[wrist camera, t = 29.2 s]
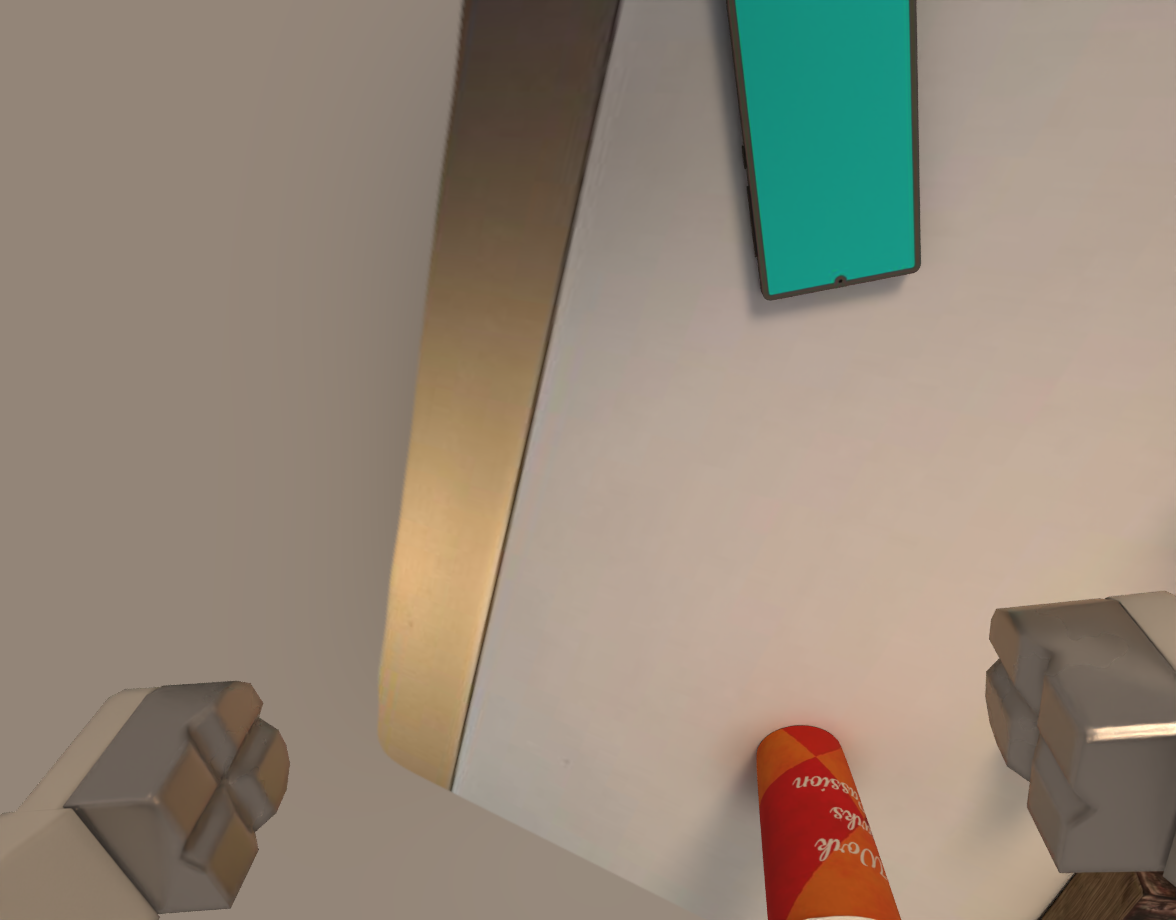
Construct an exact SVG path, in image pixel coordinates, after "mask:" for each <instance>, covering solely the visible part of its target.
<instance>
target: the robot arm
mask: <svg viewBox="0 0 1176 920" xmlns="http://www.w3.org/2000/svg"><path fill="white" fill-rule="evenodd" d="M989 640H990V642H991V643H992V645H993V647H994V649H995V651H996V653H997V654H998V656H999V659H998V660H997V661H996V662H995V663H994V664H993V665H992V666H991V667H990V668H989V669H988V670H987V671H986V692H985V697H986V703H987V709H988V715H989V721H990V725H991V728H992V731H993V734H994V737H995V740H996V743H997V745H998V747H999V750H1000V752H1001V754H1002V756H1003V758H1004V760H1005V762H1006V765H1007V766H1008V767H1009V768H1010V769H1012V770H1013V771H1015V772H1016V773H1017V774H1019V775H1020V776H1022V777H1023V778H1025V779H1026V780H1027V781H1029V782H1030V785H1029V793H1028V802H1027V808H1028V810H1029V812H1030V814H1031V816H1032V818H1033V820H1034V822H1035V824H1036V826H1037V829H1038V831H1039V833H1040V835H1041V837H1042V839H1043V841H1044V843H1045V845H1046V847H1047V849H1048V851H1049V853H1050V855H1051V857H1052V859H1053V861H1054V863H1055V865H1056V867H1057V869H1058V871H1059V873H1084V872H1145V871H1164V874H1163V877H1164V878H1166V879H1167V880H1168V881H1169V882H1170V883H1172V884H1173V885H1174V886H1175V887H1176V596H1175V595H1173V594H1171V593H1169V592H1166V591H1158V592H1149V593H1139V594H1130V595H1121V596H1112V597H1107V598H1105V599H1101V598H1098V599H1088V600H1078V601H1068V602H1058V603H1049V604H1039V605H1029V606H1019V607H1010V608H1000V609H996V611H995V613H994V615H993V617H992V619H991V625H990V635H989ZM262 706H263V702H262V700H261V699H260V697H259V696H258V694H257V692H256V691H255V689H254V688H253V686H252V685H251V683H246V682H240V681H227V682H212V683H197V684H182V685H168V686H161V687H153V688H137V689H124V690H122V691H121V692H119V693H117V694H115V695H113V696H111V697H109V698H108V699H107V700H106V701H105V703H104V704H103V705H102V706H101V708H100V709H99V710H98V711H97V713H96V714H95V715H94V716H93V717H92V719H91V720H90V721H89V722H88V724H87V725H86V726H85V727H84V728H83V730H82V731H81V732H80V733H79V735H78V736H77V737H76V738H75V739H74V741H73V742H72V743H71V744H70V746H69V747H68V748H67V749H66V751H65V752H64V753H63V754H62V755H61V757H60V758H59V759H58V760H57V762H56V763H55V764H54V765H53V767H52V768H51V769H50V770H49V771H48V773H47V774H46V775H45V776H44V778H43V779H42V780H41V781H40V782H39V784H38V785H37V786H36V787H35V789H34V790H33V791H32V792H31V793H30V795H29V796H28V797H27V798H26V800H25V801H24V802H23V803H22V805H21V806H20V807H19V808H18V810H17V811H16V812H8V813H2V814H1V815H0V920H159V918H160V917H159V915H158V914H164V913H177V912H191V911H202V910H217V909H230V908H231V907H232V905H233V902H234V900H235V898H236V896H237V894H238V892H239V890H240V888H241V886H242V884H243V882H244V879H245V877H246V875H247V873H248V871H249V869H250V867H251V865H252V863H253V861H254V859H255V857H256V854H257V852H258V850H259V849H258V844H257V839H256V834H255V831H257V830H258V829H259V828H260V827H261V826H262V825H263V824H265V823H266V822H267V821H268V820H269V819H270V818H271V817H272V816H273V815H275V814H276V812H277V810H278V808H279V806H280V803H281V801H282V799H283V796H284V794H285V792H286V790H287V783H288V775H289V767H290V761H289V756H288V751H287V746H286V743H285V742H284V740H283V738H282V736H281V734H280V732H279V730H278V729H276V728H274V727H273V726H271V725H270V724H268V723H267V722H265V721H264V720H262V719H261V718H259V715H260V712H261V709H262Z"/></svg>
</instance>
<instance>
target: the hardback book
mask: <svg viewBox="0 0 1176 920" xmlns="http://www.w3.org/2000/svg"><path fill="white" fill-rule="evenodd" d="M1163 874H1164V871H1145V872H1084V873H1076V874H1075V876H1074V877H1073V878H1072V880H1071V881H1070V882H1069V884H1068V885H1067V886H1066V887H1065V889H1064V890H1063V891H1062V893H1061V894H1060V895H1059V897H1058V898H1057V899H1056V901H1055V902H1054V903H1053V905H1052V906H1051V907H1050V908H1049V910H1048V911H1047V912H1046V914H1045V915H1044V916H1043V918H1042V919H1041V920H1176V887H1175V886H1174V885H1173V884H1172V883H1170V882H1169V881H1168V880H1167V879H1166V878H1164V877H1163Z"/></svg>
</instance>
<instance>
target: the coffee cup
mask: <svg viewBox="0 0 1176 920" xmlns="http://www.w3.org/2000/svg"><path fill="white" fill-rule="evenodd" d="M757 781H758V796H759V810H760V824H761V837H762V851H763V863H764V876H765V889H766V902H767V915H768V920H901V918H900V915H899V912H898V909H897V906H896V903H895V900H894V897H893V894H892V891H891V888H890V885H889V882H888V879H887V876H886V873H885V871H884V868H883V865H882V862H881V859H880V856H879V853H878V850H877V847H876V844H875V841H874V838H873V835H872V832H871V829H870V826H869V823H868V821H867V818H866V815H865V812H864V809H863V806H862V803H861V800H860V797H859V794H858V792H857V789H856V786H855V783H854V780H853V777H852V774H851V771H850V769H849V766H848V763H847V760H846V758H845V755H844V753H843V750H842V748H841V746H840V744H839V742H838V740H837V739H836V738H835V737H834V736H833V735H832V734H830V733H829V732H827V731H825V730H823V729H820V728H817V727H812V726H790V727H786V728H782V729H779V730H777V731H775V732H773V733H771V734H770V735H768V736H767V737H766V738H765V739H764V740H763V741H762V742H761V743H760V745H759V747H758V750H757Z"/></svg>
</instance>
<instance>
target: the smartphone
mask: <svg viewBox="0 0 1176 920" xmlns="http://www.w3.org/2000/svg"><path fill="white" fill-rule="evenodd" d="M726 4H727V12H728V21H729V29H730V37H731V45H732V54H733V62H734V70H735V78H736V87H737V95H738V103H739V112H740V120H741V128H742V136H743V145H744V146H742V152H743V160H744V167H745V169H747V178H748V186H747V193H748V201H749V209H750V218H751V226H752V234H753V242H754V250H755V257H757V260H758V269H759V277H760V285H761V291H762V294H763V296H764V298H765V299H767V300H777V299H782V298H787V297H792V296H797V295H802V294H808V293H813V292H818V291H823V290H828V289H834V288H840V287H845V286H849V285H854V284H859V283H865V282H870V281H875V280H880V279H885V278H891V277H896V276H901V275H906V274H911V273H915V272H916V271H918V270H919V268H920V266H921V245H920V188H919V131H918V73H917V16H916V0H726Z"/></svg>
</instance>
